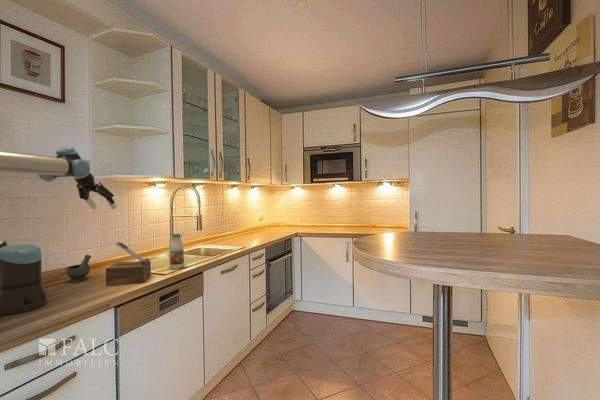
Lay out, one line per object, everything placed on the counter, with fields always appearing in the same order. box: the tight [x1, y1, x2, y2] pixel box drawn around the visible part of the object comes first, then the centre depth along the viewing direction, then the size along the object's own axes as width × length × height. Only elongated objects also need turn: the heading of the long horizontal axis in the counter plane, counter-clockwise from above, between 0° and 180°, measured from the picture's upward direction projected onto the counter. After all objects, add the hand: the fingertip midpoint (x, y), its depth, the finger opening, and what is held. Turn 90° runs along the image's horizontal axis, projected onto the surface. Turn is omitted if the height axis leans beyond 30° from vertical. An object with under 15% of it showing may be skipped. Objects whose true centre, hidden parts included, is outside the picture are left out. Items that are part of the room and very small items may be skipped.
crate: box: [105, 258, 152, 287], centre depth 143 cm, size 14×17×10 cm
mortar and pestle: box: [65, 254, 92, 283], centre depth 145 cm, size 11×9×12 cm
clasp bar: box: [115, 241, 147, 262], centre depth 144 cm, size 4×17×1 cm
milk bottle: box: [168, 233, 185, 270], centre depth 168 cm, size 8×8×20 cm
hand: (104, 208), depth 158 cm, fingers open, 13 cm apart
